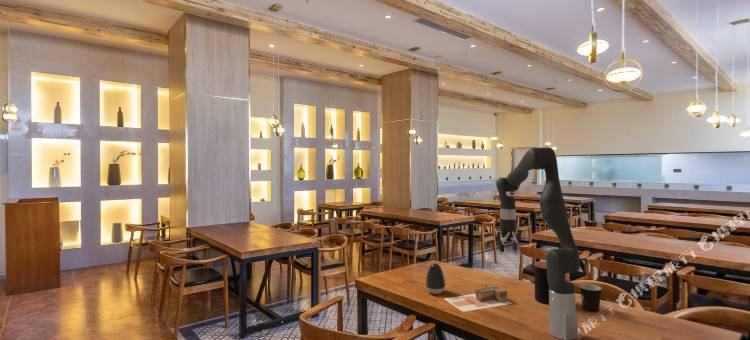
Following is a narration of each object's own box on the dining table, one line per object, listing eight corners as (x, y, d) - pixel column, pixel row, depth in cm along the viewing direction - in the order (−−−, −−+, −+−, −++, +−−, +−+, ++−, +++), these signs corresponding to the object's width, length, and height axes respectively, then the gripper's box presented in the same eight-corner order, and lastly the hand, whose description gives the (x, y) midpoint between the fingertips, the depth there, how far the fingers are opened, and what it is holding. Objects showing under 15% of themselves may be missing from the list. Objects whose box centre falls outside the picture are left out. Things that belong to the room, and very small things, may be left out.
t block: (507, 301, 186) (506, 291, 186) (485, 305, 182) (485, 294, 182) (491, 293, 197) (491, 283, 197) (471, 296, 193) (471, 286, 193)
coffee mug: (601, 314, 169) (601, 291, 169) (579, 310, 174) (579, 288, 173) (602, 305, 179) (602, 284, 179) (581, 302, 184) (580, 281, 183)
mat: (513, 304, 183) (512, 303, 183) (462, 312, 175) (462, 311, 174) (490, 292, 200) (489, 291, 200) (443, 299, 192) (443, 298, 192)
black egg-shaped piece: (422, 294, 199) (422, 265, 199) (429, 288, 208) (429, 260, 208) (441, 297, 194) (441, 267, 194) (448, 291, 204) (447, 262, 203)
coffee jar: (561, 306, 180) (561, 267, 179) (537, 305, 182) (536, 266, 181) (555, 298, 190) (555, 261, 190) (532, 297, 192) (532, 260, 192)
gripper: (500, 219, 186) (501, 254, 187) (525, 217, 191) (525, 251, 192) (491, 217, 194) (491, 251, 194) (514, 215, 198) (515, 248, 199)
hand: (508, 251), depth 193 cm, fingers open, 7 cm apart
